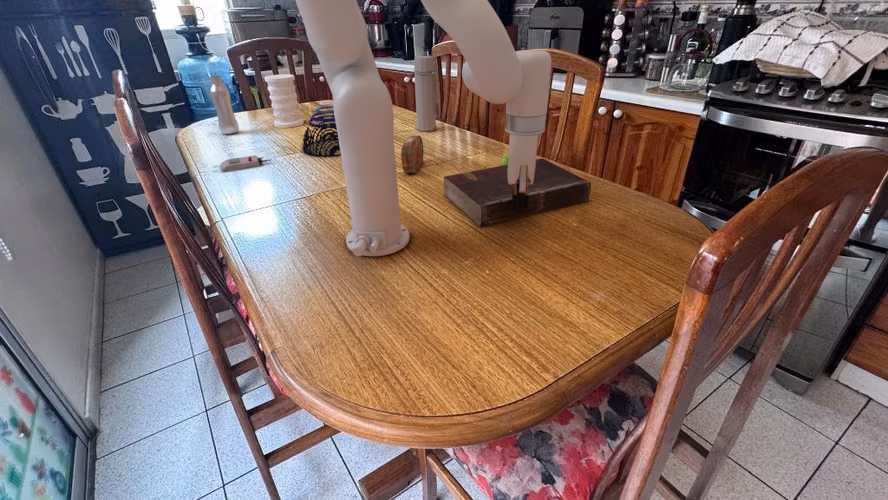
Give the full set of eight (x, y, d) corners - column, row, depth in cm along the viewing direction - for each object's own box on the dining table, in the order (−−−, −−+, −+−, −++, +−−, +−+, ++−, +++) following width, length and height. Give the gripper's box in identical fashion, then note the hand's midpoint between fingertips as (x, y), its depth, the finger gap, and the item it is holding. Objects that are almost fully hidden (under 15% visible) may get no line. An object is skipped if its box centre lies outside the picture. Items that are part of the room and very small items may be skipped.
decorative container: (297, 119, 175) (288, 73, 166) (308, 124, 167) (299, 76, 158) (269, 124, 169) (258, 76, 160) (280, 129, 161) (269, 79, 152)
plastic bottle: (221, 132, 159) (204, 76, 149) (240, 130, 162) (225, 74, 151) (221, 136, 154) (204, 78, 144) (240, 134, 156) (225, 77, 146)
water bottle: (413, 131, 154) (409, 58, 142) (421, 126, 161) (417, 55, 148) (437, 133, 152) (435, 58, 139) (443, 127, 159) (442, 55, 146)
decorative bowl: (370, 151, 135) (365, 105, 127) (306, 160, 129) (297, 112, 121) (357, 136, 151) (352, 94, 143) (301, 143, 145) (292, 100, 137)
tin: (411, 177, 114) (409, 147, 110) (400, 177, 115) (398, 146, 110) (424, 159, 127) (423, 132, 122) (414, 159, 127) (413, 131, 123)
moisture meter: (215, 166, 125) (212, 157, 124) (269, 158, 131) (267, 149, 130) (216, 173, 120) (212, 163, 119) (272, 164, 126) (270, 154, 125)
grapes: (522, 174, 114) (524, 148, 111) (499, 174, 115) (501, 148, 111) (520, 163, 122) (522, 138, 119) (499, 162, 123) (500, 138, 119)
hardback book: (481, 227, 88) (481, 205, 86) (444, 195, 103) (443, 176, 100) (588, 201, 98) (591, 181, 96) (540, 176, 113) (542, 158, 110)
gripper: (505, 113, 86) (501, 195, 95) (505, 133, 73) (501, 226, 82) (542, 113, 85) (534, 196, 94) (549, 133, 72) (540, 227, 81)
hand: (519, 210), depth 88 cm, fingers closed
